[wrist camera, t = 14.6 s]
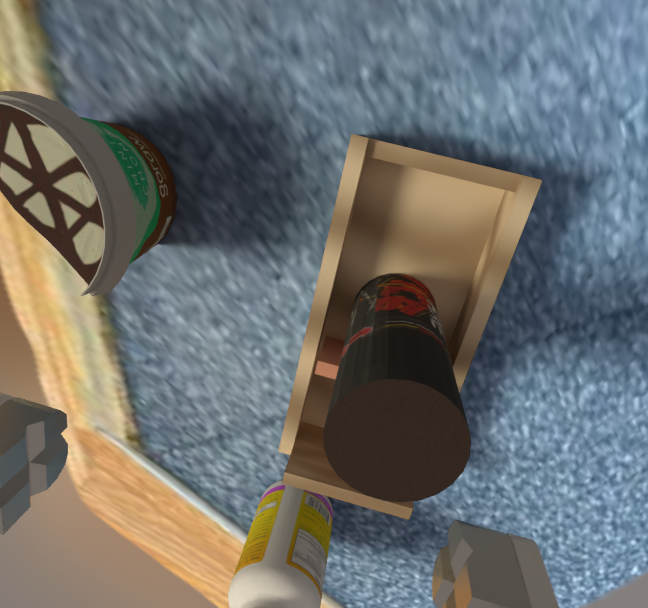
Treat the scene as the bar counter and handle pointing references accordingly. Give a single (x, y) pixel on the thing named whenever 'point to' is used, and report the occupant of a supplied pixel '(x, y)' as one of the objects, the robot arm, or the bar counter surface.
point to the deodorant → (396, 397)
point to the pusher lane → (407, 258)
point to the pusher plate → (330, 357)
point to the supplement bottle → (284, 551)
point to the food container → (84, 186)
